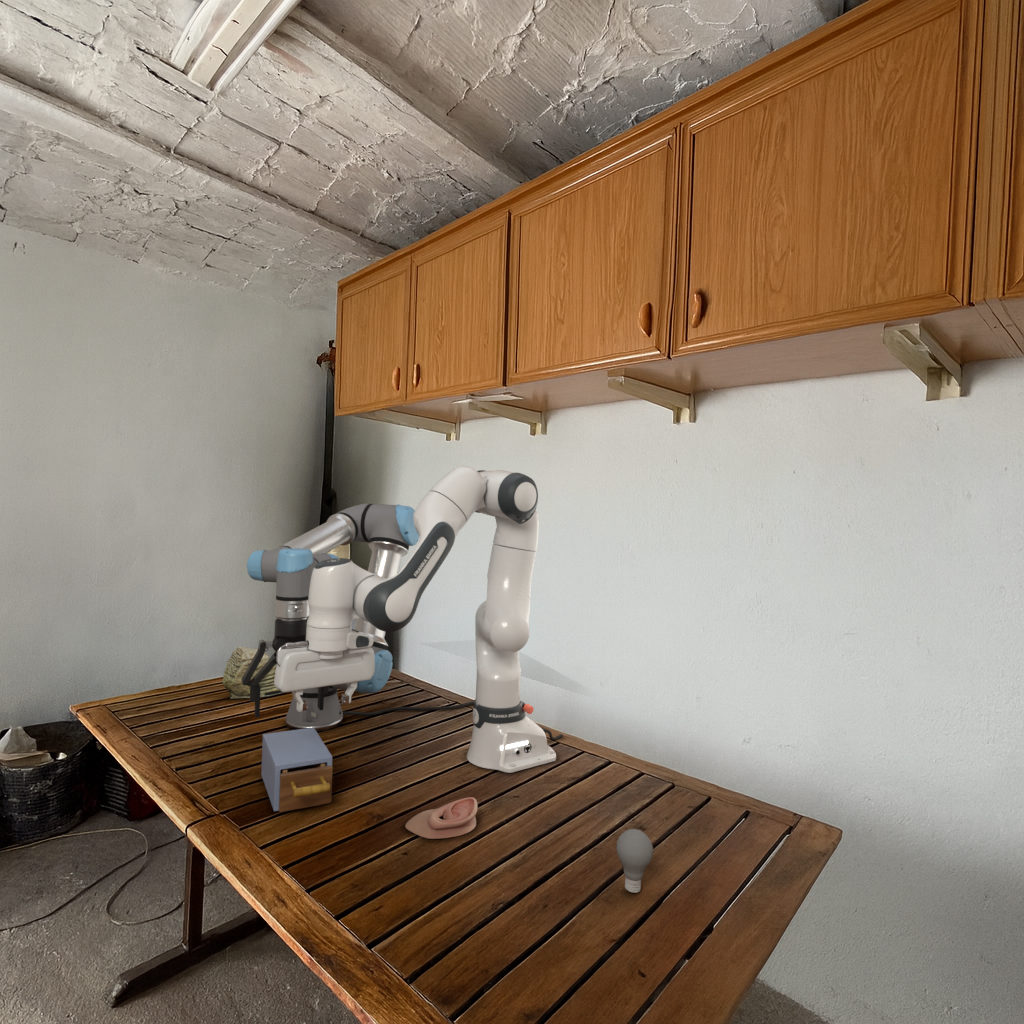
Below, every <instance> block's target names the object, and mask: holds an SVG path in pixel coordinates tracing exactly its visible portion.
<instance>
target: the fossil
mask: <svg viewBox="0 0 1024 1024" xmlns="http://www.w3.org/2000/svg"><path fill="white" fill-rule="evenodd" d="M257 650H258V647H257V648H251V647H247V646H246V647H245V646H238V647H237V648H236V649H235V650H233V651H232V653H231V656H230V657H229V659H228V660H227V663H226V666H225V668H224V671H223V675H222V676H223V677H222V685H223V687H224V688H225V690H226V691H228V693H229V698H230V699H250V686H247V685H243V684H242V681H241V679H242V677H243V676H244V674H245V672H246V670H247V668H248V667H249V665H250V663H251V661H252V659H253V657H254V656H255V654H256V652H257ZM270 658H271V657H270V656H269V655H268V654H267V653H266V652H265V653H264V655H263V657H262V659H261V661H260V663H259V665H258V667H257V668H256V670H255V672H254V674H253V676H252V677H251V679H252V678H253V677H254V676H255V675H256V674H257V673H258V672H259V671H260V669H261V668H262V667H263V666H264V665H265V664H266V663H267V661H268V660H269V659H270ZM276 667H277V664H276V665H275V666H274V667H273V668H272V669H271V670H270V671H269V673H268V674H267V675H266V676H265V677H264V678H263V679H262V681H261V682H260V683H259V685H260V687H261V689H260V698H264V697H271V696H275V695H281V694H284V692H281V691H280V690H278V689H277V688H276V687H275V685H274V678H275V671H276Z"/></svg>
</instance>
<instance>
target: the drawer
mask: <svg viewBox="0 0 1024 1024" xmlns="http://www.w3.org/2000/svg"><path fill="white" fill-rule="evenodd" d="M333 769H334V767H333V765H332V766H325V764H324V763H319V764H313V765H307V766H301V767H294V768H288V769H282V770H280V788H279V811H278V812H279V813H285V812H290V811H295V810H299V809H305V808H311V807H316V806H320V805H326V804H331V803H332V796H333V793H332V792H333V772H334V771H333Z"/></svg>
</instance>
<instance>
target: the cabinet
mask: <svg viewBox="0 0 1024 1024" xmlns="http://www.w3.org/2000/svg"><path fill="white" fill-rule="evenodd" d="M319 763H324V764H325V766H332V767H333V755H332V754H331V752H330V751H329V749H328V747H327V746H326V744H325V742H324V740H323V739H322V738H321V736H320V735H319V733H318V732H316V730H315V728H314V727H313V728H306V729H298V730H292V729H290V730H284V731H275V732H269V733H263V734H262V745H261V771H260V773H261V778H262V781H263V783H264V787H265V789H266V792H267V796H268V798H269V801H270V805H271V807H272V810H273V812H279V788H280V770H282V769H288V768H294V767H301V766H307V765H313V764H319Z"/></svg>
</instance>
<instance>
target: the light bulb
mask: <svg viewBox="0 0 1024 1024" xmlns="http://www.w3.org/2000/svg"><path fill="white" fill-rule="evenodd" d="M615 849H616V854H617V857H618V859H619V861H620V863H621V865H622V867H623V873H624V874H623V875H624V876H625V878H624V888H625V890H627V891H628V892H630V893H634V894H635V893H639V892H640V891H641V889H642V887H641V886H642V879H643V877H644V875H645V871H646V868H647V867H648V866H649V864H650V863H651V861H652V859H653V855H654V847H653V843H652V841H651V838H649V836H648V835H647V834H646V833H645V832H643V831H642V830H641V829H636V828H629V829H627V830H625V831H623V832H622V833H621V834H620V835H619V837H618V839H617V841H616V847H615Z"/></svg>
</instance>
